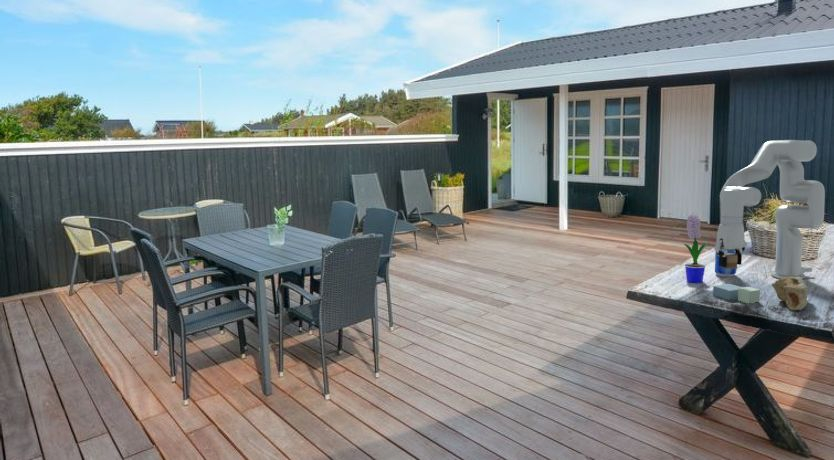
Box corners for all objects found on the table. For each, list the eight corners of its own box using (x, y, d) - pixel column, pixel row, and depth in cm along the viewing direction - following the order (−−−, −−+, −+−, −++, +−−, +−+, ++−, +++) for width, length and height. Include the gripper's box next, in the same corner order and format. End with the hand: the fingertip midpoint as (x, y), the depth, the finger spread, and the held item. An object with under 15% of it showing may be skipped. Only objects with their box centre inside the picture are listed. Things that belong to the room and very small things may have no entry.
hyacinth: (712, 283, 242) (714, 214, 237) (686, 283, 244) (688, 215, 240) (706, 278, 251) (708, 212, 246) (681, 278, 253) (683, 212, 248)
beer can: (733, 273, 258) (735, 238, 255) (737, 277, 250) (738, 242, 248) (713, 272, 261) (714, 238, 258) (716, 277, 253) (717, 241, 250)
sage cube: (748, 299, 219) (748, 286, 218) (759, 302, 214) (759, 289, 213) (737, 300, 218) (738, 288, 217) (748, 304, 213) (749, 291, 212)
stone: (824, 312, 199) (826, 284, 198) (787, 312, 202) (788, 284, 200) (803, 299, 216) (805, 273, 214) (769, 298, 218) (770, 273, 217)
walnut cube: (737, 268, 218) (737, 256, 218) (722, 267, 221) (722, 255, 220) (737, 266, 223) (737, 253, 222) (722, 265, 225) (723, 253, 224)
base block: (728, 293, 229) (729, 283, 228) (745, 298, 221) (745, 288, 221) (712, 295, 227) (713, 286, 226) (729, 300, 219) (729, 290, 218)
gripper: (739, 217, 225) (738, 261, 228) (706, 221, 220) (705, 266, 222) (756, 219, 218) (754, 264, 221) (723, 223, 213) (721, 269, 215)
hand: (729, 264), depth 222 cm, fingers closed on walnut cube, 7 cm apart
